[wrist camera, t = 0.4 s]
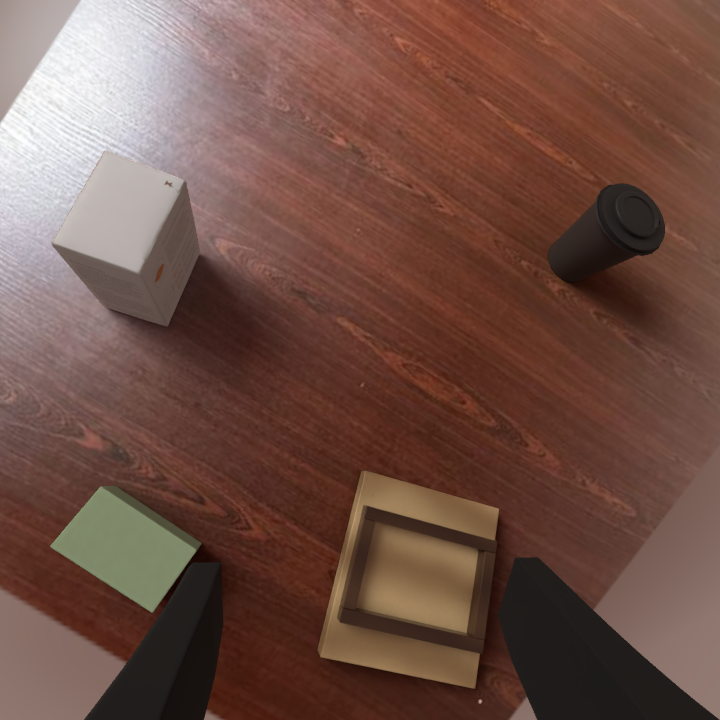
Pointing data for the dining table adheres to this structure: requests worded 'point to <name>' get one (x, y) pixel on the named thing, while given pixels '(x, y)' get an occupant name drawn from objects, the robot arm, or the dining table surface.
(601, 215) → the coffee cup
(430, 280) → the dining table surface
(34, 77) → the dining table surface
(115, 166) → the small box
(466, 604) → the wooden base with frame
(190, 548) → the green rectangular block
